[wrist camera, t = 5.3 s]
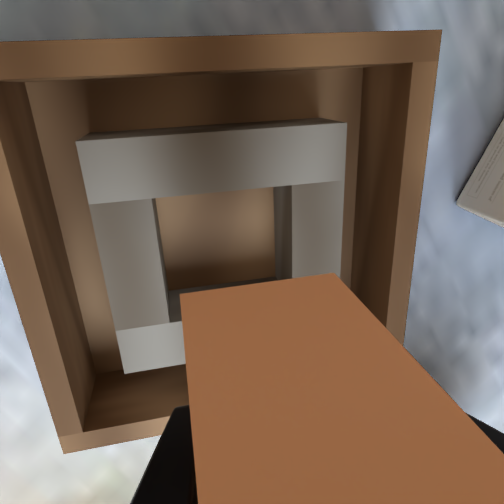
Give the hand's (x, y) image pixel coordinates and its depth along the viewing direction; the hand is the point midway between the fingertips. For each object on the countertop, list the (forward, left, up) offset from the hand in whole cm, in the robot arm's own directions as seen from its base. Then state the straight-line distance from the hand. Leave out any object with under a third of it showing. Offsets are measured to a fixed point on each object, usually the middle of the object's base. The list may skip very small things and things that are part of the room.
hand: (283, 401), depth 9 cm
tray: (0, 0, -12) cm, 12 cm away
